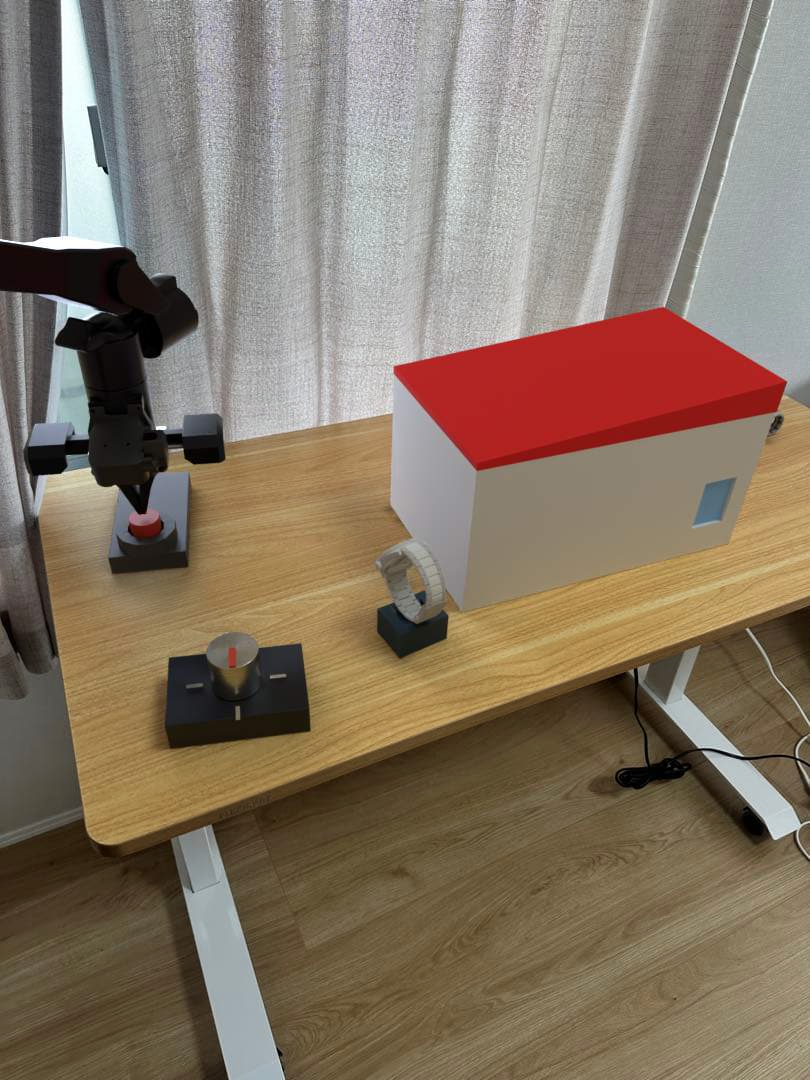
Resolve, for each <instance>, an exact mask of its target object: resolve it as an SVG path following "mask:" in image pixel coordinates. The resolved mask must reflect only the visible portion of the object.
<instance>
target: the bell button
mask: <svg viewBox="0 0 810 1080" xmlns="http://www.w3.org/2000/svg"><path fill="white" fill-rule="evenodd" d="M128 520H129V525H130V529H131V533H132V535H133V536H134V537H138V538H147V537H152V536H154V535H157V534H159V533H160V532H161V530H162V526H161V520H160V515H159V513H158V512H157V511H156V510H154V509H147V513H146V514H142V515H138V514H137V512H136V511H135V512H133V513H132V514H131V515H130V516H129V519H128Z"/></svg>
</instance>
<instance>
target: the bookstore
mask: <svg viewBox="0 0 810 1080" xmlns="http://www.w3.org/2000/svg"><path fill="white" fill-rule="evenodd" d="M392 373H393V394H392V395H393V397H392V431H391V463H390V464H391V467H390V469H391V470H390V499H389V500H390V502H389V503H390V506H391V508H392V509H393V511H394V512H395V514H396V515H397V517H398V518H399V520H400V521H401V523H402V524H403V526H404V527H405V529H406V531H407V532H408V534H409V536H411V539H413V538H421V539H422V541H425V542H426V543H427V546H428V547H429V548H430V549H431V550H432V552H433V553H434V555H435V556H436V558H437V560H438V562H439V564H440V566H441V569H440V570H442V572H443V576H444V580H445V585H446V592H448V594H449V595H450V596H451V598H452V600H453V601H454V603H455V604H456V605H457V607H458V608H459V610H460V612H461V613H465V612H469V611H474V610H476V609H481V608H485V607H488V606H492V605H495V604H496V605H497V604H501V603H504V602H508V601H513V600H516V599H519V598H524V597H528V596H531V595H535V594H539V593H543V592H547V591H550V590H556V589H558V588H563V587H566V586H570V585H574V584H578V583H581V582H586V581H589V580H594V579H597V578H601V577H606V576H610V575H613V574H617V573H621V572H625V571H628V570H632V569H636V568H640V567H644V566H648V565H652V564H656V563H660V562H663V561H668V560H672V559H675V558H679V557H684V556H687V555H691V554H694V553H698V552H702V551H706V550H710V549H713V548H719V547H721V546H726V545H729V544H730V541H731V540H732V536H733V533H734V530H735V528H736V524H737V523H738V519H739V516H740V514H741V510H742V508H743V505H744V502H745V500H746V496H747V495H748V494H747V493H748V491H749V488H750V486H751V482H752V480H753V478H754V474H755V471H756V469H757V466H758V464H759V460H760V458H761V454H762V452H763V449H764V447H765V443H766V441H767V437H768V436H767V435H768V432H769V429H770V426H771V424H772V423H773V421H774V419H775V418H774V415H775V412H777V410H779V407H780V404H781V401H782V399H783V395H784V393H785V390H786V387H787V385H788V381H787V380H786V379H784V378H783V377H781V376H779V375H778V374H776V373H774V372H773V371H771V370H769V369H767V368H766V367H764V366H763V365H761V364H759V363H758V362H756V361H754V360H753V359H751V358H749V357H748V356H746V355H744V354H743V353H741V352H740V351H738V350H736V349H734V348H733V347H731V346H730V345H728V344H727V343H725V342H723V341H721V340H720V339H718V338H716V337H714V336H713V335H711V334H710V333H708V332H706V330H705V331H704V330H703V329H701V328H700V327H698V326H696V325H695V324H693V323H691V322H689V321H688V320H686V319H684V318H683V317H681V316H680V315H678V314H677V313H675V312H673V311H672V310H670V309H668V308H667V307H665V306H661V307H656V308H652V309H646V310H643V311H637V312H634V313H629V314H625V315H619V316H615V317H611V318H607V319H602V320H597V321H593V322H588V323H584V324H579V325H573V326H570V327H565V328H561V329H557V330H552V331H547V332H542V333H539V334H534V335H528V336H525V337H520V338H516V339H511V340H507V341H502V342H497V343H492V344H488V345H484V346H479V347H475V348H474V347H473V348H470V349H466V350H465V349H464V350H461V351H457V352H452V353H446V354H443V355H440V356H434V357H430V358H429V357H428V358H426V359H425V358H424V359H421V360H420V359H419V360H415V361H412V362H407V363H402V364H398V365H393V372H392ZM432 566H433V565H432Z"/></svg>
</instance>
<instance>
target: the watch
mask: <svg viewBox="0 0 810 1080" xmlns="http://www.w3.org/2000/svg"><path fill="white" fill-rule="evenodd" d="M432 565H433V566H432ZM412 566H414V568H415V569H416V572H417V573H418V575H419V577H420V580H421V581H422V582H421V583H422V585H423V586H424V590H421V591H419V592H416V593H414V592H413V589H412V587H411V584H410V581H409V577H408V573H407V570H410V569H411V568H412ZM374 567H375V569H376V570H377V571H379V572H380V576H381V577H382V579H384V581H385V585H386V587H387V590H388V593H389V595H390V597H391V600H392V602H391V603H388V604H386V605H383V606H380V607H378V608H377V610H376V611H377V613H376V615H377V616H376V632H377V633H378V635H379V636H380V637H381V639H383V641H384V642H385V643H386V645H388V647H389V648H390V649H391V650H392V651H393V653H394V654H395V655H396V656H397V658H398V659H402V658H405V657H407V656H410V655H412V654H414V653H416V652H419V651H421V650H423V649H425V648H428V647H430V646H433V645H435V644H438V643H440V642H442V641H444V640H446V639H447V638H448V630H449V629H448V628H449V618H450V617H449V616H450V615H449V614H448V613H447V612H446V611H445V610H444V609H445V607H446V604H447V600H448V599H446V598H447V589H446V585H445V580H444V576H443V572H442V570H440V569H441V566H440V564H439V562H438V560H437V558H436V556H435V555H434V553H433V552H432V550H431V549H430V548H429V547H428V546H427V543H426V542H425V541H422V539H421V538H408V539H405V540H403V541H401V542H399V543H396V544H394V545H393V546H391V547H389V548H387V549H386V550H385V551H384V552H382V553H381V554H380V555H379V556H378V557H377V558H376V560H375V562H374Z"/></svg>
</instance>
